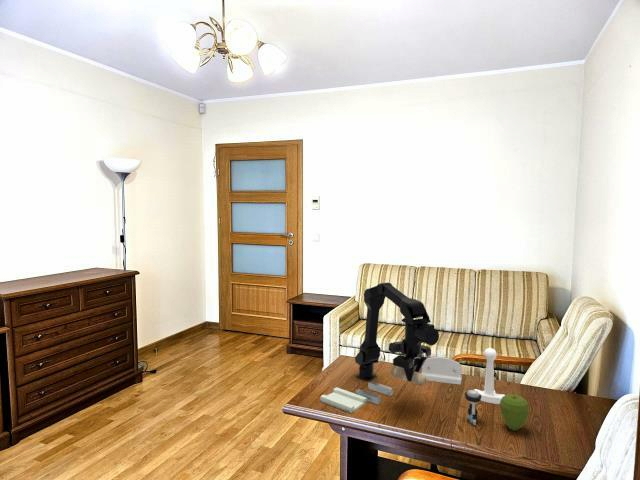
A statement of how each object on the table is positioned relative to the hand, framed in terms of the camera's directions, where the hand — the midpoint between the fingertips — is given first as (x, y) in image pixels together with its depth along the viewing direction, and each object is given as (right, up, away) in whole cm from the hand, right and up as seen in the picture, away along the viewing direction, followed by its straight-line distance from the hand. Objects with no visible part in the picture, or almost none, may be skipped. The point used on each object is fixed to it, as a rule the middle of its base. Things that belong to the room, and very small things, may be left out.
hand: (412, 379), depth 148 cm
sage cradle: (-24, -11, +6) cm, 27 cm away
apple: (+31, -12, -12) cm, 35 cm away
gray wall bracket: (+18, -9, +27) cm, 34 cm away
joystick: (+31, -11, +9) cm, 34 cm away
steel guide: (-12, -10, +11) cm, 19 cm away
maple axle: (-1, -1, +1) cm, 2 cm away
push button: (+19, -12, -8) cm, 24 cm away
